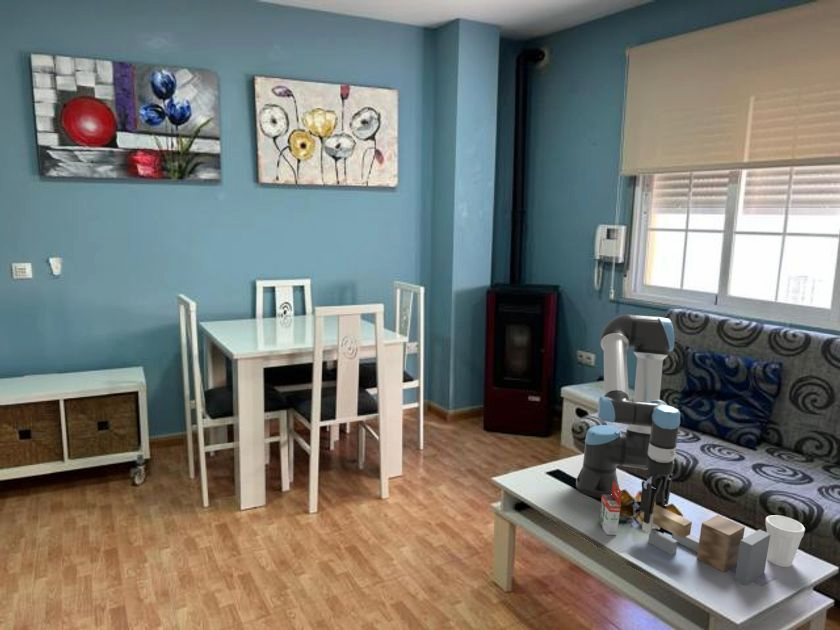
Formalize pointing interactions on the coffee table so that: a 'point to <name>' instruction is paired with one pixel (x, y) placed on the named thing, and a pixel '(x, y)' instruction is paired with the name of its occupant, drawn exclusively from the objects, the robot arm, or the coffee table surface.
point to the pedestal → (663, 542)
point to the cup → (783, 539)
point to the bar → (670, 521)
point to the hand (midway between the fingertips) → (651, 529)
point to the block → (720, 542)
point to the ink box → (610, 511)
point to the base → (742, 554)
